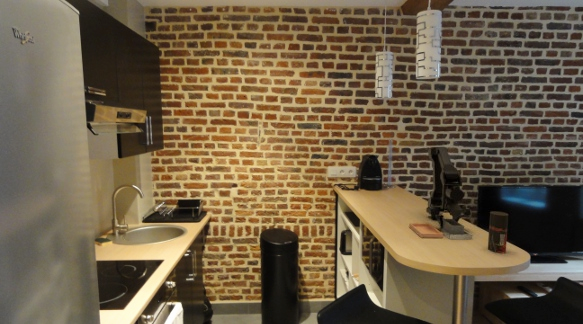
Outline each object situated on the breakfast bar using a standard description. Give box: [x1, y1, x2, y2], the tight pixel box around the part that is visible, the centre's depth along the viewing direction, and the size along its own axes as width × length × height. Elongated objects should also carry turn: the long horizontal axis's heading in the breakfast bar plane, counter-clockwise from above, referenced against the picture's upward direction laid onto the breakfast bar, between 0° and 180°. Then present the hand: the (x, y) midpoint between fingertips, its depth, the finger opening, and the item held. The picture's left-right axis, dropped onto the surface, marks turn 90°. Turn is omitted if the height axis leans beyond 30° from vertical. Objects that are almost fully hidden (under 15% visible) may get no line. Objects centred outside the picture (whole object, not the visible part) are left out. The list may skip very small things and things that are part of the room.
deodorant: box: [487, 210, 509, 254], centre depth 115 cm, size 6×6×15 cm
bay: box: [440, 229, 473, 240], centre depth 131 cm, size 8×10×2 cm
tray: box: [408, 222, 444, 239], centre depth 136 cm, size 15×9×2 cm, turn 177°
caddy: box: [439, 218, 465, 234], centre depth 136 cm, size 11×5×5 cm, turn 177°
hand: (447, 228), depth 140 cm, fingers closed on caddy, 5 cm apart
